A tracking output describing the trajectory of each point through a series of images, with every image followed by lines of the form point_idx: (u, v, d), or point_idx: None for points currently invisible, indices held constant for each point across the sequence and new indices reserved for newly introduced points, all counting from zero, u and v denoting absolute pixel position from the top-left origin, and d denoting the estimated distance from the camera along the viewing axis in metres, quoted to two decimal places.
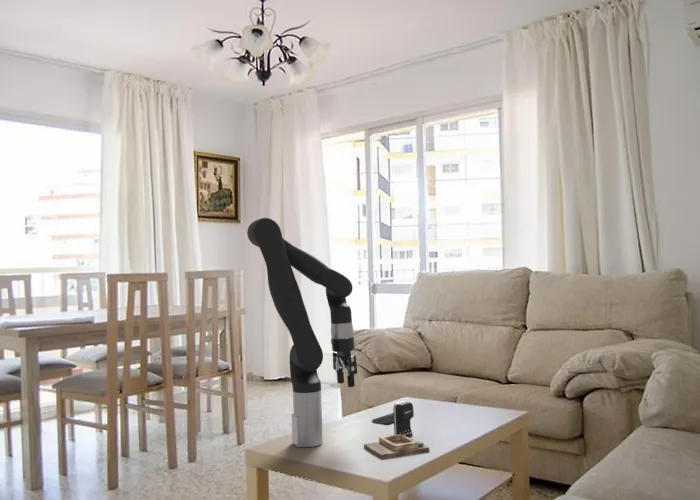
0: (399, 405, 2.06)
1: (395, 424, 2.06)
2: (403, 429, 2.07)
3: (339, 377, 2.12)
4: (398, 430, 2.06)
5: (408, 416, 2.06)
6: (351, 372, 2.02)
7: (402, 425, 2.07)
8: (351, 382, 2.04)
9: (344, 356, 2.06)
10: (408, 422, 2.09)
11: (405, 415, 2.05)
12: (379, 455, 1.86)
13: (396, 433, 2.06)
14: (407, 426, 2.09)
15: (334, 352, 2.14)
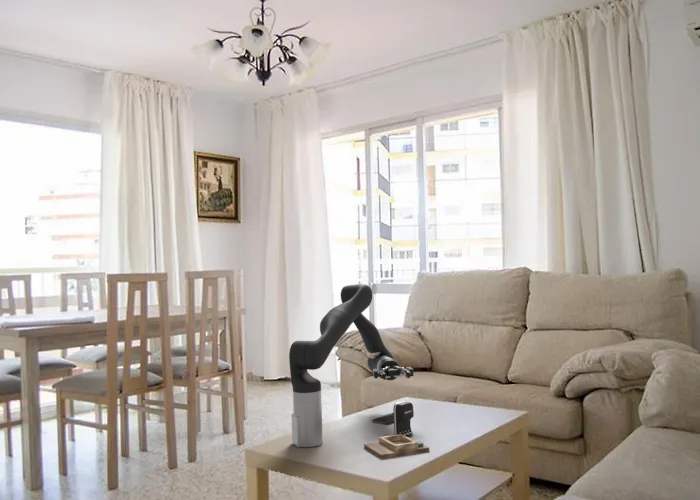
0: (399, 405, 2.06)
1: (395, 424, 2.06)
2: (403, 429, 2.07)
3: None
4: (398, 430, 2.06)
5: (408, 416, 2.06)
6: None
7: (402, 425, 2.07)
8: None
9: None
10: (408, 422, 2.09)
11: (405, 415, 2.05)
12: (379, 455, 1.86)
13: (396, 433, 2.06)
14: (407, 426, 2.09)
15: (374, 369, 2.29)
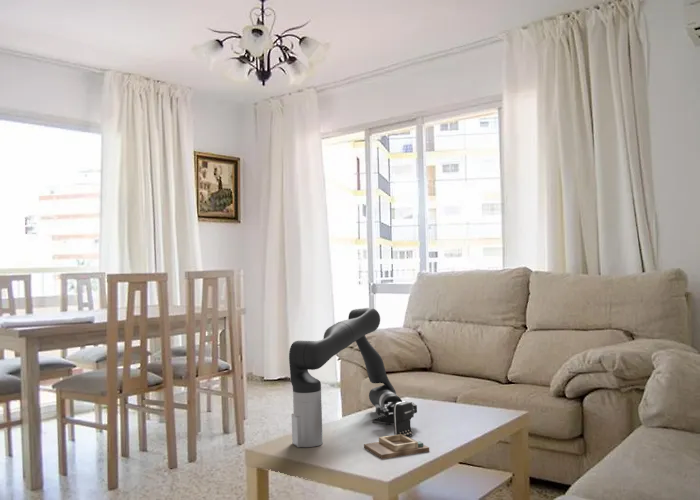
0: (399, 405, 2.06)
1: (395, 424, 2.06)
2: (403, 429, 2.07)
3: None
4: (398, 430, 2.06)
5: (408, 416, 2.06)
6: None
7: (402, 425, 2.07)
8: (413, 410, 2.16)
9: None
10: (408, 422, 2.09)
11: (405, 415, 2.05)
12: (379, 455, 1.86)
13: (396, 433, 2.06)
14: (407, 426, 2.09)
15: None
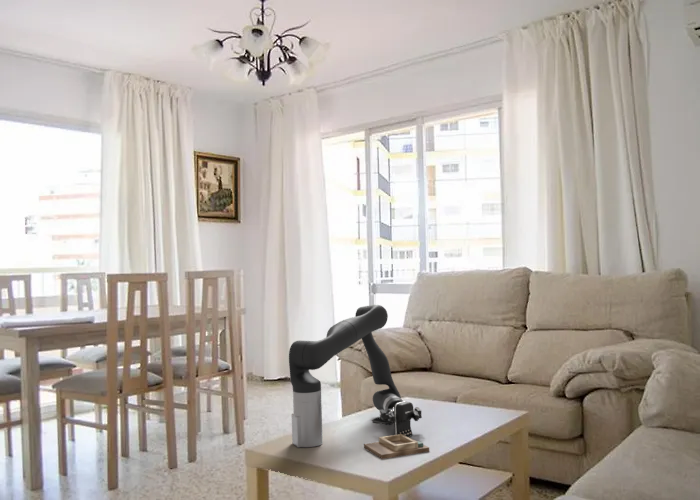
0: (399, 405, 2.06)
1: (395, 424, 2.06)
2: (403, 429, 2.07)
3: None
4: (398, 430, 2.06)
5: (408, 416, 2.06)
6: None
7: (402, 425, 2.07)
8: None
9: None
10: (408, 422, 2.09)
11: (405, 415, 2.05)
12: (379, 455, 1.86)
13: (396, 433, 2.06)
14: (407, 426, 2.09)
15: None
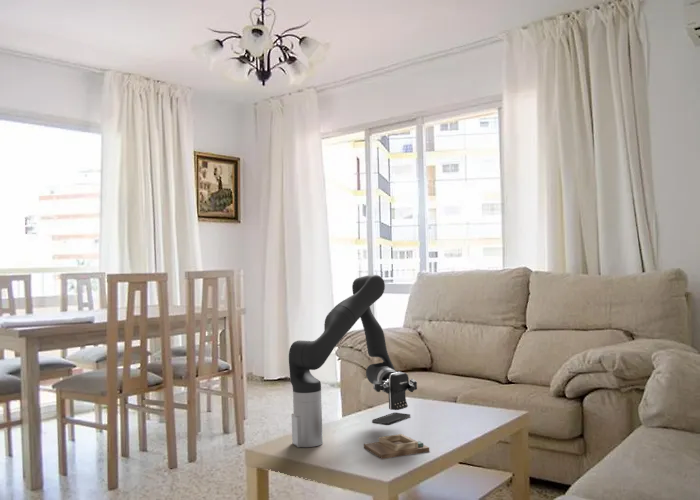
0: (394, 375, 1.97)
1: (390, 395, 1.98)
2: (398, 400, 1.99)
3: None
4: (393, 401, 1.97)
5: (403, 387, 1.98)
6: None
7: (397, 396, 1.99)
8: (413, 386, 2.00)
9: None
10: (403, 393, 2.01)
11: (400, 386, 1.97)
12: (379, 455, 1.86)
13: (391, 404, 1.98)
14: (402, 397, 2.01)
15: (375, 382, 2.07)
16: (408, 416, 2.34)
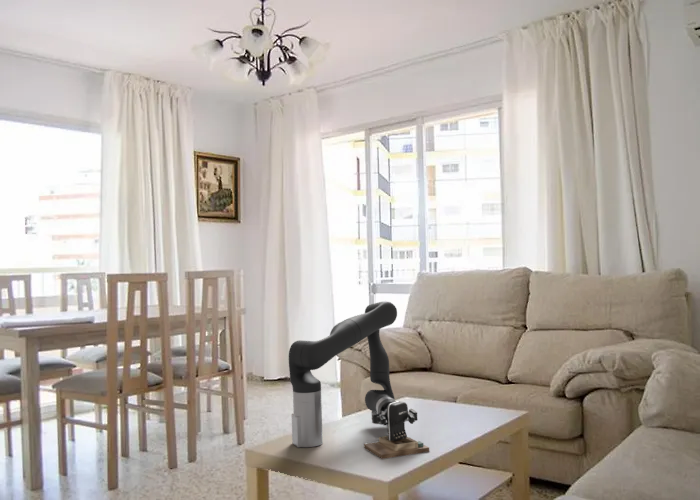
0: (393, 405, 1.93)
1: (389, 426, 1.93)
2: (397, 431, 1.94)
3: None
4: (392, 432, 1.93)
5: (402, 417, 1.93)
6: None
7: (396, 427, 1.94)
8: None
9: None
10: (402, 423, 1.96)
11: (399, 416, 1.92)
12: (379, 455, 1.86)
13: (390, 435, 1.93)
14: (401, 428, 1.96)
15: None
16: None
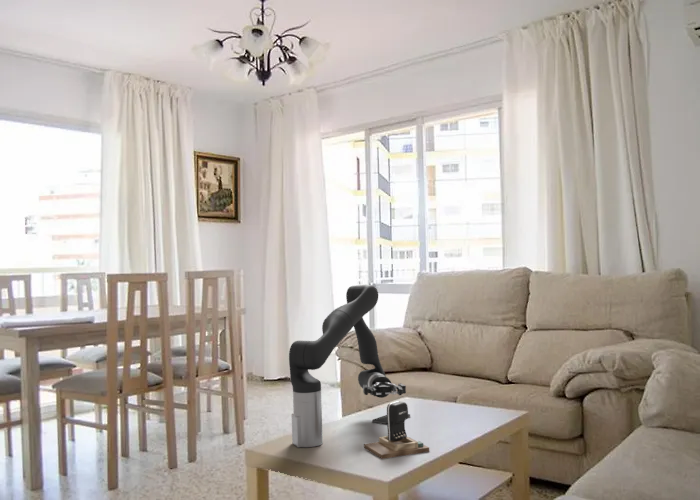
0: (393, 405, 1.93)
1: (389, 426, 1.93)
2: (397, 431, 1.94)
3: None
4: (392, 432, 1.93)
5: (402, 417, 1.93)
6: None
7: (396, 427, 1.94)
8: None
9: None
10: (402, 423, 1.96)
11: (399, 416, 1.92)
12: (379, 455, 1.86)
13: (390, 435, 1.93)
14: (401, 428, 1.96)
15: (365, 385, 2.16)
16: (408, 416, 2.34)
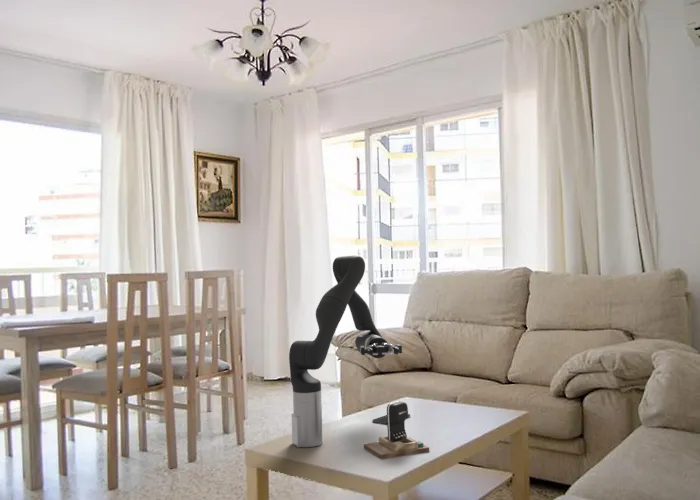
0: (393, 405, 1.93)
1: (389, 426, 1.93)
2: (397, 431, 1.94)
3: None
4: (392, 432, 1.93)
5: (402, 417, 1.93)
6: None
7: (396, 427, 1.94)
8: (398, 349, 2.13)
9: None
10: (402, 423, 1.96)
11: (399, 416, 1.92)
12: (379, 455, 1.86)
13: (390, 435, 1.93)
14: (401, 428, 1.96)
15: (362, 346, 2.20)
16: (408, 416, 2.34)
